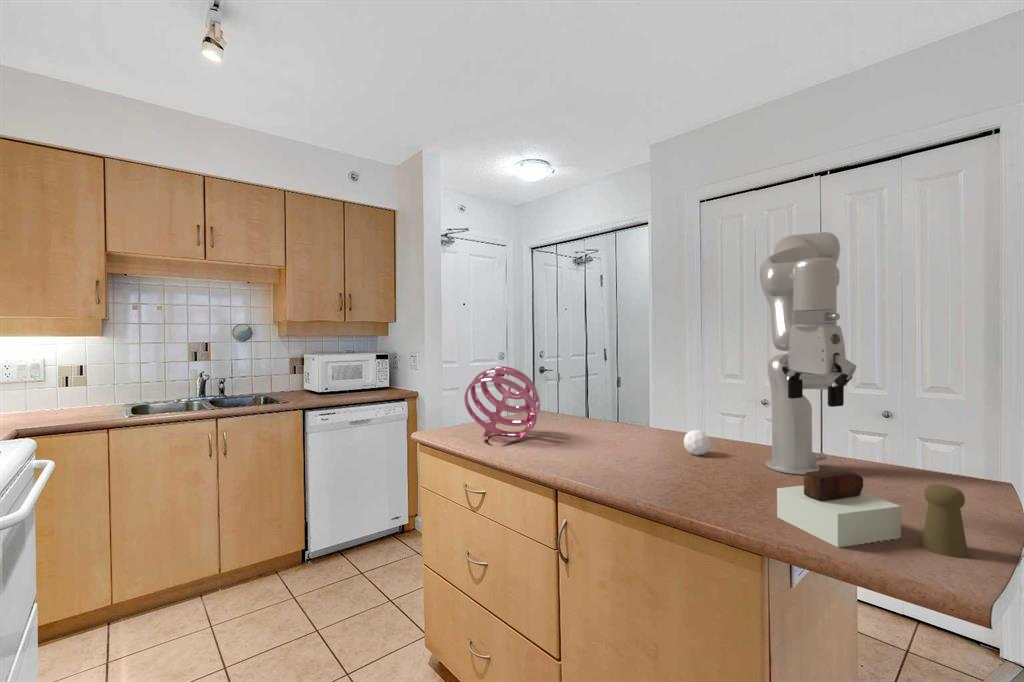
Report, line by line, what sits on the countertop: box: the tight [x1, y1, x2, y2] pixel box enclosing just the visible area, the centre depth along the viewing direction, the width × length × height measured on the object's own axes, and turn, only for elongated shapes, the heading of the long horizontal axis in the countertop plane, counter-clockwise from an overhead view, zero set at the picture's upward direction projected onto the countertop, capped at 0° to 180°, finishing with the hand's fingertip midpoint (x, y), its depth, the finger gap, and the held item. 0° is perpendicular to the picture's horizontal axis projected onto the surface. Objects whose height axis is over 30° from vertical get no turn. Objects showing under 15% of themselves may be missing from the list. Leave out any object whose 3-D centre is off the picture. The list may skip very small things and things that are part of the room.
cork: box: [920, 483, 969, 558], centre depth 81 cm, size 6×6×11 cm
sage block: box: [776, 484, 902, 548], centre depth 91 cm, size 14×14×6 cm
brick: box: [802, 468, 864, 501], centre depth 91 cm, size 11×4×5 cm, turn 106°
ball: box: [683, 429, 712, 456], centre depth 145 cm, size 8×8×8 cm
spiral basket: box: [464, 366, 541, 444], centre depth 170 cm, size 28×28×27 cm
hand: (814, 401), depth 96 cm, fingers open, 9 cm apart
